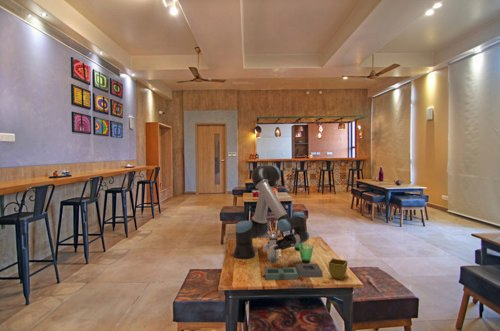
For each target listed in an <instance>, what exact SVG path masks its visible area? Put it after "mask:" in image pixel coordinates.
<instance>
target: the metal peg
mask: <svg viewBox="0 0 500 331" xmlns="http://www.w3.org/2000/svg"><path fill="white" fill-rule="evenodd" d="M276 238H277V233H269V234H268V242H269V247H271V246H274V245H276ZM268 253H269V254H268V255H269V256H268V257H269V264H276V263H277V250H275V251H272V252H268Z"/></svg>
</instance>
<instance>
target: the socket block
mask: <svg viewBox="0 0 500 331" xmlns="http://www.w3.org/2000/svg"><path fill="white" fill-rule="evenodd" d="M295 269H296V271H297V273H298V278H323V270H322V269H321V267H320V266H319V265H318V263H295Z"/></svg>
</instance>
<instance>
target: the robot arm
mask: <svg viewBox="0 0 500 331" xmlns="http://www.w3.org/2000/svg"><path fill="white" fill-rule="evenodd" d="M281 174H282V173H281V170H280V168H279V167H278V166H276V165H271V164H270V165H259V166H258V165H257V166H256V167H255V168H254V169H253V170H252V172H251V180H252V183H253V186H254V187H255V189H257V190H258V191H259V192H258V197H257V202H256V207H255V211H254V215H253V216H252V217H251V220H242V221H239V222H237V223H236V224H235V248H234V250H233V257H234V258H235V259H242V260H243V259H244V260H247V259H248V260H249V259H252V258H254V257H255V256H256V251H255V247H254V245H253V239H257V238H259V237H260V238H261V237H263V236H265V235H267V234H268V233H269V230H270V225H269V222H268V219H267V214H268V209H270V211H271V212H272V214H273V216H274V217H275V219H276V221H277V223H276V225H277V229H278V231H280V232H281V233H286V232H287V233H288V232H289V231H292V230H293V232H291V233H289V234H284V236H283V238H280V239H278V238H277V237H276V245H274V246H271V247H269V241H267V244H263V245H262V250H263V251H267V250H269V252H272V251H275V250H276V251H277V250H281V251H283V250H287V249H289V248H293V247H296V246H297V245H300V244H302V243H306V242H307V241H308V240H309V239H310V233H309V231H308V230H306V229H307V228H306V215H305V213H304V212H302V211H296V212H293V213H292V216H289V214H288V212H287V211H286V209H285V208H284V206H283V205H282V203H281V201H280V199H279V198H278V196H277V194H276V193H275V191H274V190H273V189H274V188H275V187H276V184H277V182H279V181H280V180H281V177H282V176H281ZM269 252H268V253H269Z"/></svg>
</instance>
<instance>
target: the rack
mask: <svg viewBox="0 0 500 331" xmlns="http://www.w3.org/2000/svg"><path fill="white" fill-rule="evenodd" d="M264 277H265V280H266V281H273V280H274V281H277V280H283V281H284V280H298V279H299V275H298V272H297V270H296V266H294V267H291V266H290V267H265V268H264Z"/></svg>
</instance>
